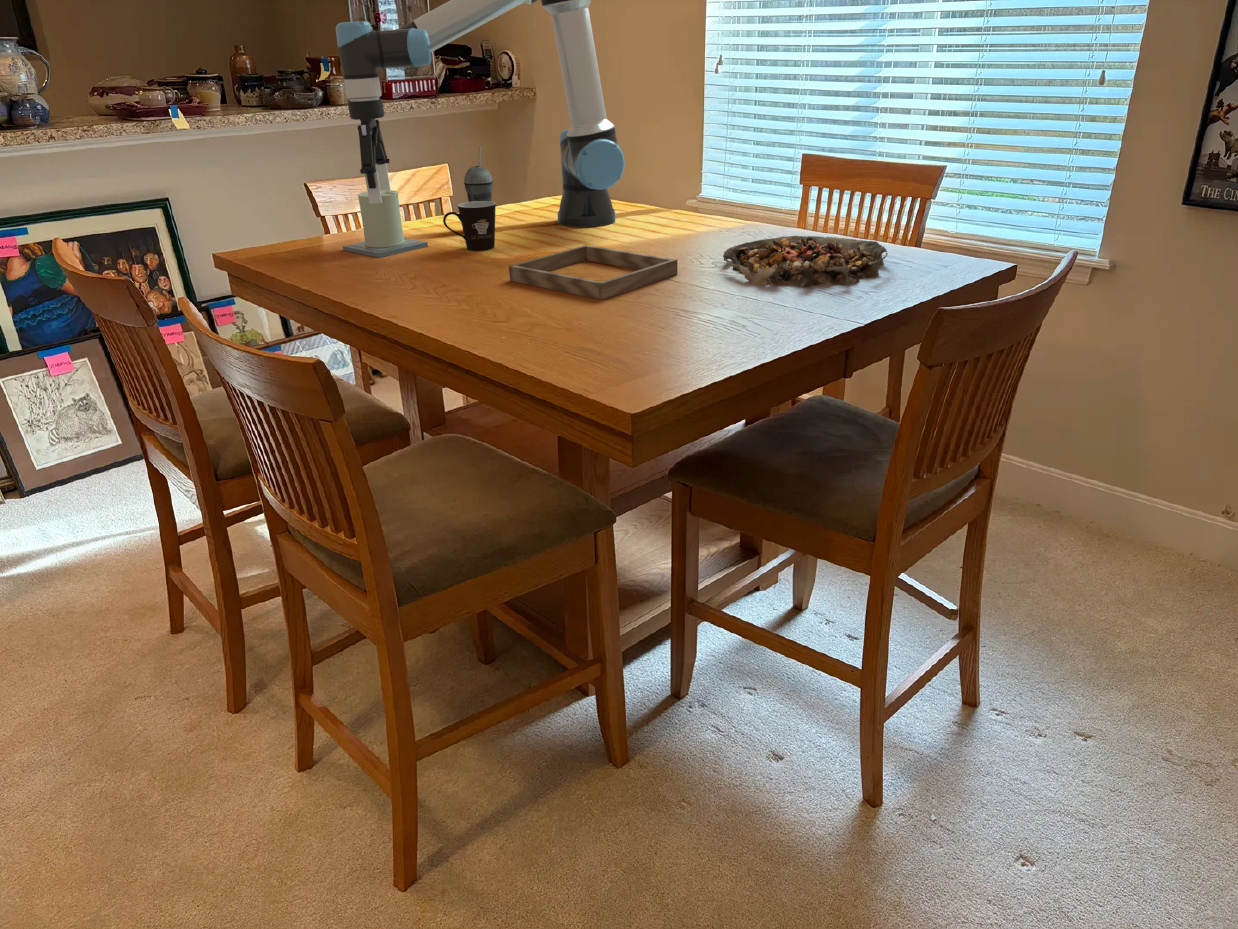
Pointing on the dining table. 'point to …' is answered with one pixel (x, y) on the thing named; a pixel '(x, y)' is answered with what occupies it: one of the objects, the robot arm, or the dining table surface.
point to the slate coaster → (385, 248)
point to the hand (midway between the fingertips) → (380, 197)
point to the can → (381, 220)
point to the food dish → (806, 260)
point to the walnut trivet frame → (539, 276)
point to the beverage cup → (478, 183)
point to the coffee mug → (476, 224)
